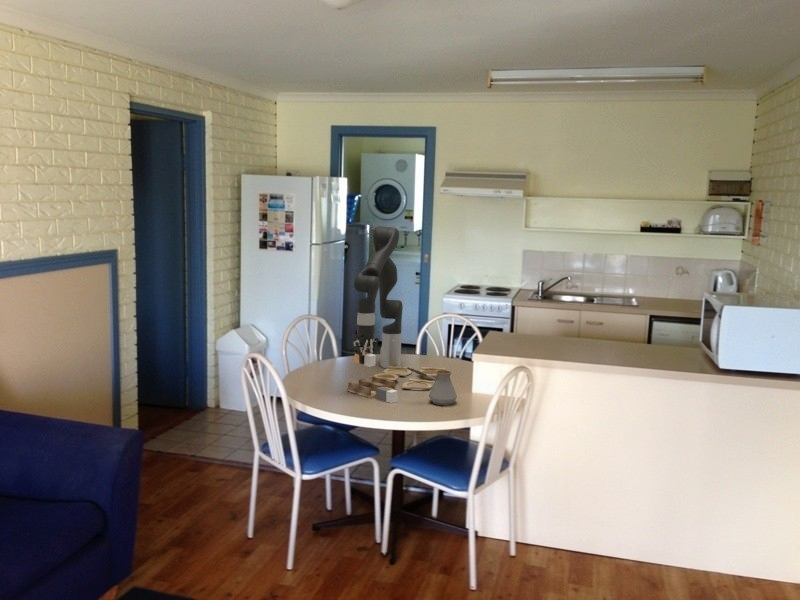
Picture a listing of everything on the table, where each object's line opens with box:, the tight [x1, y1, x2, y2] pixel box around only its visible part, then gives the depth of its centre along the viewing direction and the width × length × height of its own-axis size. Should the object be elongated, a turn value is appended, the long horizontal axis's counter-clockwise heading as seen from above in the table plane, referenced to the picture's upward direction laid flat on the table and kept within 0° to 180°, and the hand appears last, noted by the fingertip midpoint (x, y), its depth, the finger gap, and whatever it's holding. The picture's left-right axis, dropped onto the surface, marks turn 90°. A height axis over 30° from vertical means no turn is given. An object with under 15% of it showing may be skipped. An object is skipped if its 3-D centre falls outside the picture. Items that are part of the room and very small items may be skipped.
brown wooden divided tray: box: [346, 375, 397, 399], centre depth 297 cm, size 14×16×4 cm
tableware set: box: [369, 366, 447, 391], centre depth 317 cm, size 35×29×4 cm
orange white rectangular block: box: [354, 351, 377, 368], centre depth 292 cm, size 9×4×4 cm, turn 48°
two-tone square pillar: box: [375, 387, 399, 404], centre depth 285 cm, size 9×4×4 cm, turn 48°
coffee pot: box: [406, 366, 458, 406], centre depth 282 cm, size 21×12×15 cm, turn 97°
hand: (365, 362), depth 292 cm, fingers closed on orange white rectangular block, 3 cm apart
